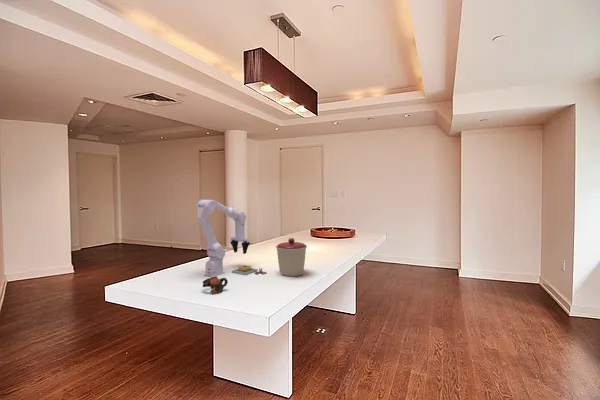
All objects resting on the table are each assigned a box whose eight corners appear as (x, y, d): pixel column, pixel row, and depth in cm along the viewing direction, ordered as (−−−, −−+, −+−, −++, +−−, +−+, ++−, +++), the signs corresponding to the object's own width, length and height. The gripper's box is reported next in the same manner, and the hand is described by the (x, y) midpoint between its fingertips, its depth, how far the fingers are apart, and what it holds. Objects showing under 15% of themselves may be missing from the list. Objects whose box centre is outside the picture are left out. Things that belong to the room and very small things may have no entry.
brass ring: (243, 273, 187) (243, 268, 187) (237, 272, 190) (236, 267, 190) (251, 271, 192) (251, 266, 192) (244, 270, 195) (244, 265, 195)
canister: (308, 270, 196) (308, 235, 195) (306, 279, 178) (305, 240, 177) (278, 270, 197) (278, 235, 196) (273, 278, 179) (272, 240, 179)
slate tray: (245, 276, 184) (245, 273, 184) (231, 273, 190) (231, 270, 190) (257, 272, 193) (257, 269, 193) (244, 269, 199) (244, 266, 199)
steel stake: (261, 276, 184) (261, 270, 184) (251, 274, 188) (251, 268, 188) (269, 273, 190) (269, 267, 190) (259, 271, 194) (259, 266, 194)
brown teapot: (206, 297, 151) (200, 280, 154) (206, 300, 160) (200, 284, 162) (231, 287, 156) (225, 271, 158) (229, 290, 164) (224, 275, 167)
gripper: (253, 231, 202) (253, 252, 203) (235, 229, 210) (236, 250, 210) (245, 232, 196) (245, 255, 197) (227, 231, 204) (228, 252, 204)
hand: (240, 252), depth 203 cm, fingers open, 7 cm apart
